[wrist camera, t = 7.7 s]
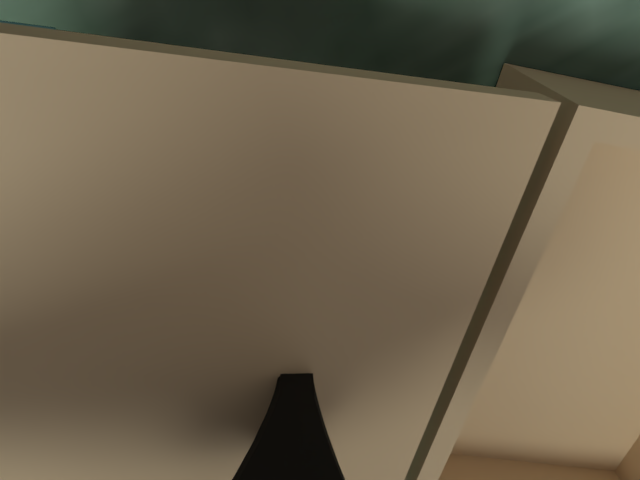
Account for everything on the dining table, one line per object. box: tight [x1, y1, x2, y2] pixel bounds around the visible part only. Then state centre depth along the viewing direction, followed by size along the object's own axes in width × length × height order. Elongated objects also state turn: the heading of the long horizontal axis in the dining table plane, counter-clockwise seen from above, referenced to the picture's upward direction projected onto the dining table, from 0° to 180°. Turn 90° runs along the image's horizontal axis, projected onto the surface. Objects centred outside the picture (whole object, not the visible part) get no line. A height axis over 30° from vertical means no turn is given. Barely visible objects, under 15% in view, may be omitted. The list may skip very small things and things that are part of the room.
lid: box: [0, 21, 561, 480], centre depth 11 cm, size 14×10×1 cm
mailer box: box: [405, 63, 640, 480], centre depth 15 cm, size 14×10×4 cm
